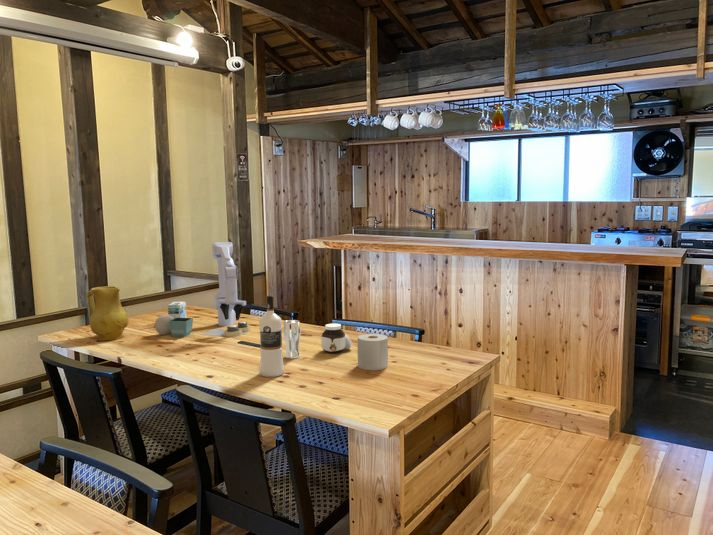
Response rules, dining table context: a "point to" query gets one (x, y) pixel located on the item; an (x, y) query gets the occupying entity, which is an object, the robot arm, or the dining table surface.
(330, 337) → the spread jar
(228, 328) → the cap
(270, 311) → the vodka
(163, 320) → the ball
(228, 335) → the board
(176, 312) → the light bulb box
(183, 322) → the flower pot
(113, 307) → the pitcher
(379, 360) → the toilet paper roll
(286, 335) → the beer glass
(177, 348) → the dining table surface
